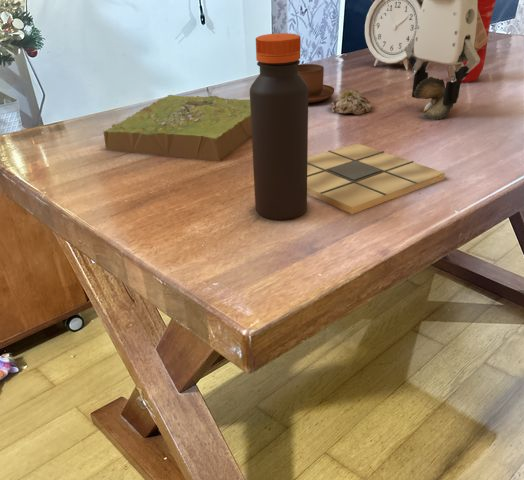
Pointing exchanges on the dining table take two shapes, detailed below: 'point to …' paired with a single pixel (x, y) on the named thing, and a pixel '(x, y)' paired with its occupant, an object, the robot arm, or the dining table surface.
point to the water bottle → (481, 36)
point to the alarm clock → (391, 29)
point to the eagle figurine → (433, 98)
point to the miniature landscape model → (184, 128)
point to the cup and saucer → (315, 82)
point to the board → (364, 177)
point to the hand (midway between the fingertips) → (433, 99)
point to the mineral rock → (351, 103)
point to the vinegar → (279, 128)
